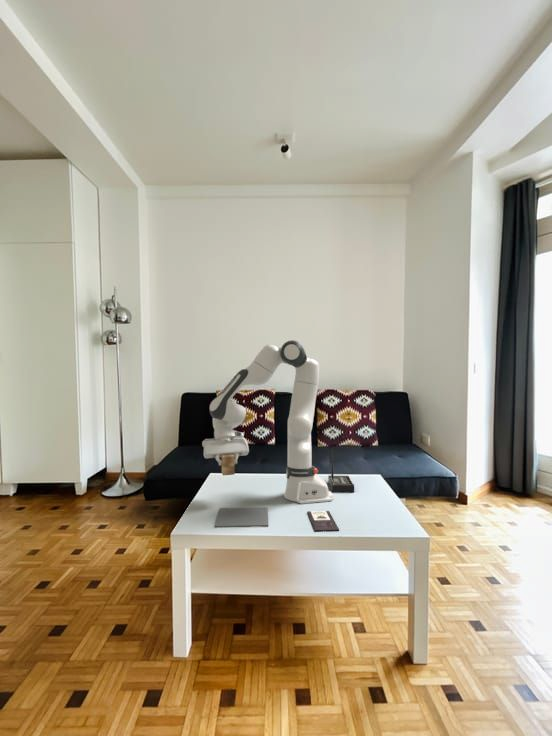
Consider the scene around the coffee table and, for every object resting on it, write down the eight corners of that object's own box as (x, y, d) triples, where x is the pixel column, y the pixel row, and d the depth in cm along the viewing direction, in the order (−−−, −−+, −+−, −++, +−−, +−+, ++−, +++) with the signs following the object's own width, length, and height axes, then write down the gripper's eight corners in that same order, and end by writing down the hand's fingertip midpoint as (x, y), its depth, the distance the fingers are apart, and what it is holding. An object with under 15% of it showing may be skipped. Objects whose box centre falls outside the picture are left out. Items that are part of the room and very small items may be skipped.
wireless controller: (357, 493, 183) (358, 457, 183) (328, 493, 183) (328, 457, 183) (350, 480, 203) (350, 448, 203) (323, 480, 203) (324, 448, 203)
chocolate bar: (314, 530, 140) (307, 511, 158) (314, 532, 140) (307, 513, 158) (339, 529, 141) (329, 511, 159) (339, 532, 141) (329, 513, 159)
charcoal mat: (267, 508, 163) (267, 507, 163) (268, 526, 145) (268, 525, 145) (220, 509, 162) (219, 508, 162) (214, 527, 144) (214, 525, 144)
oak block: (232, 472, 172) (232, 454, 172) (234, 474, 168) (234, 456, 168) (221, 473, 171) (221, 455, 171) (223, 475, 167) (222, 457, 167)
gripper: (202, 435, 173) (204, 462, 164) (246, 432, 179) (251, 458, 170) (201, 443, 177) (203, 470, 168) (244, 440, 183) (249, 466, 174)
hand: (228, 464), depth 169 cm, fingers closed on oak block, 5 cm apart
